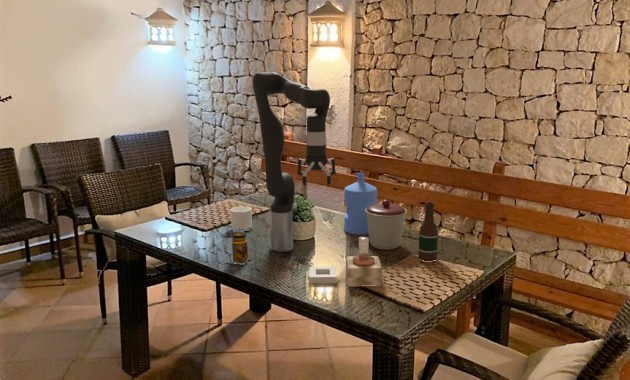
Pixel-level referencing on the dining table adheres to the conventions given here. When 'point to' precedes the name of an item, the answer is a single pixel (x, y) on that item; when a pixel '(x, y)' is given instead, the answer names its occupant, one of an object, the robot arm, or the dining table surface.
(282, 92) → the robot arm
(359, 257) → the pin
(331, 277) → the pin stand
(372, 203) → the water jug
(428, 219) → the beer bottle
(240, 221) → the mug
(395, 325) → the dining table surface
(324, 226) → the dining table surface
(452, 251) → the dining table surface
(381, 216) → the canister
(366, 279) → the block
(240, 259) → the condiment
